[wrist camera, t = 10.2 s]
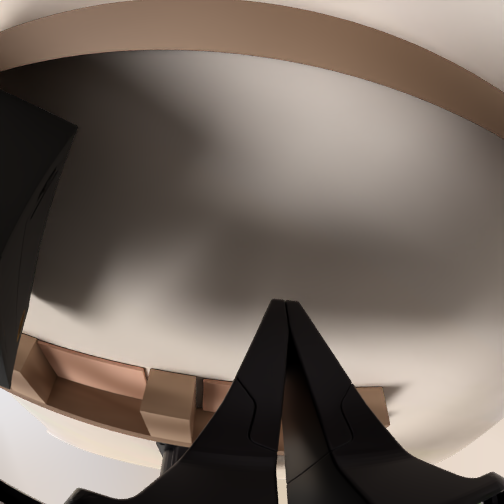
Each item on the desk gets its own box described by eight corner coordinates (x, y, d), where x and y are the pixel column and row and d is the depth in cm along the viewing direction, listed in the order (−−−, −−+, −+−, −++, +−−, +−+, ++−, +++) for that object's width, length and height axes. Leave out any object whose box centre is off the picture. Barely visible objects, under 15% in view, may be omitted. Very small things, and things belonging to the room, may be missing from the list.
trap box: (367, 419, 18) (373, 457, 16) (-5, 354, 17) (-19, 383, 14) (550, 141, 6) (603, 178, 4) (-98, 92, 5) (-138, 115, 2)
